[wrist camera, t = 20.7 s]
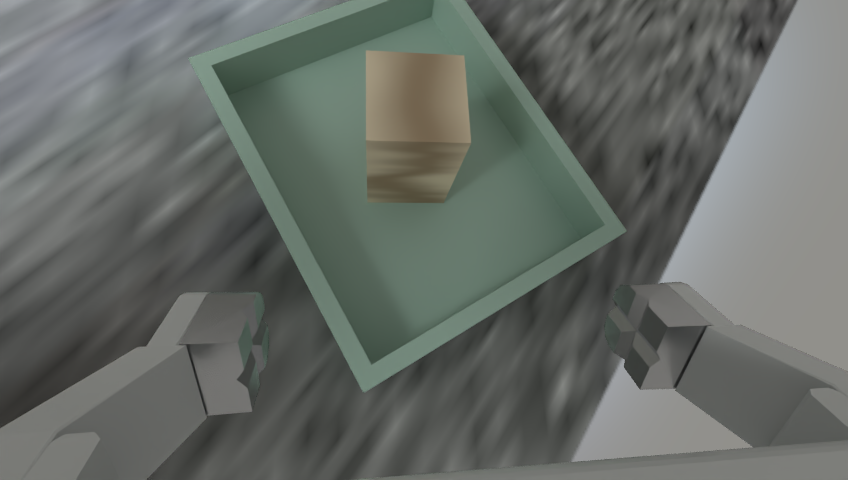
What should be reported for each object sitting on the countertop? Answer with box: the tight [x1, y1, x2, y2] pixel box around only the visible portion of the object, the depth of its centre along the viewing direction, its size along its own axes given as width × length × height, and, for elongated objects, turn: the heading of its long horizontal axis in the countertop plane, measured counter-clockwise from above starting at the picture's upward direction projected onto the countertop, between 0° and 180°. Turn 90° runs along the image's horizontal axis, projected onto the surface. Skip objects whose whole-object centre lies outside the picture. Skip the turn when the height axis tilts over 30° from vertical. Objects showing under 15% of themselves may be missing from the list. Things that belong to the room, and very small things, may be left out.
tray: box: [188, 0, 627, 393], centre depth 27 cm, size 22×18×4 cm
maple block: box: [366, 50, 471, 203], centre depth 24 cm, size 5×5×8 cm
